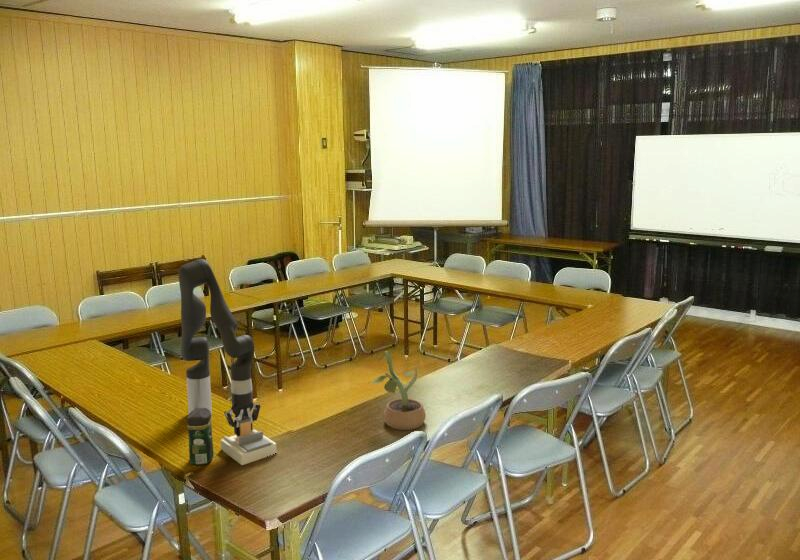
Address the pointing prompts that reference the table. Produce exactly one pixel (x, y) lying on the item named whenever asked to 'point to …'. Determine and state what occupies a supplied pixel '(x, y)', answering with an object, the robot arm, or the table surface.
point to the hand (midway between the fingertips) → (243, 433)
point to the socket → (241, 455)
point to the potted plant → (401, 401)
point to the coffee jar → (200, 436)
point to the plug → (244, 426)
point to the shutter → (253, 441)
